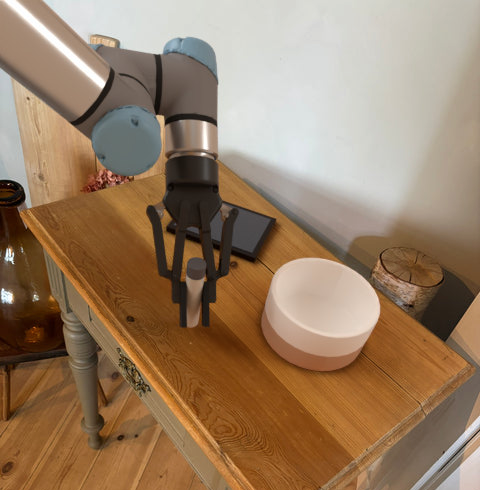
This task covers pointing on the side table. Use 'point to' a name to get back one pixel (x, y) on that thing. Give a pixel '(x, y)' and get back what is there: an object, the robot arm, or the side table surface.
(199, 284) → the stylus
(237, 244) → the tablet
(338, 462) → the side table surface
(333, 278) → the bowl
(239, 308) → the side table surface
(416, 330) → the side table surface
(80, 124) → the robot arm
